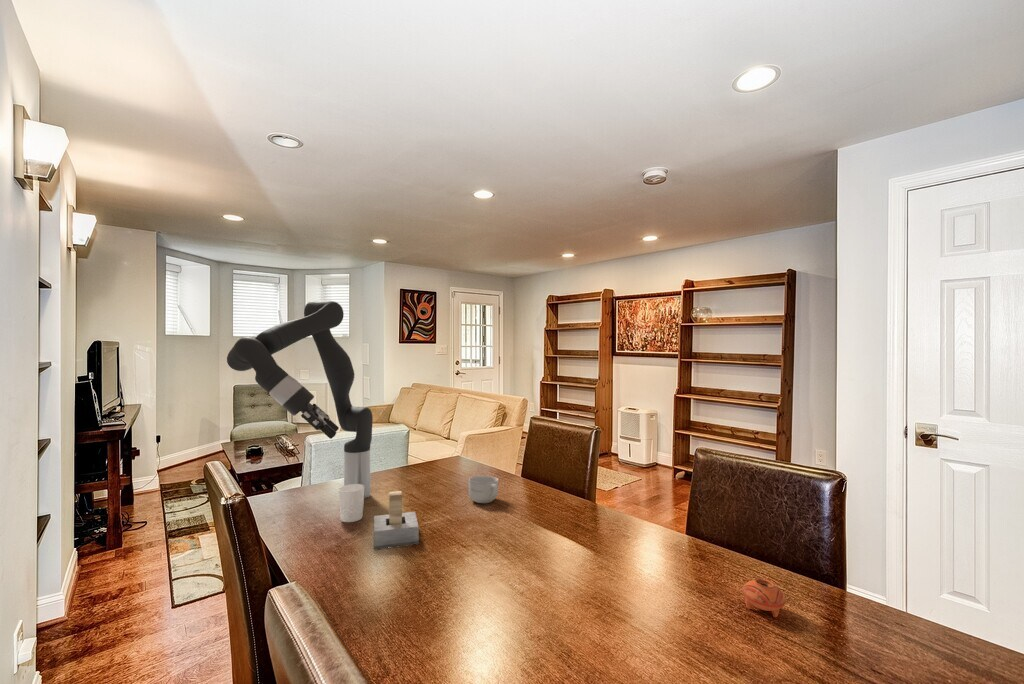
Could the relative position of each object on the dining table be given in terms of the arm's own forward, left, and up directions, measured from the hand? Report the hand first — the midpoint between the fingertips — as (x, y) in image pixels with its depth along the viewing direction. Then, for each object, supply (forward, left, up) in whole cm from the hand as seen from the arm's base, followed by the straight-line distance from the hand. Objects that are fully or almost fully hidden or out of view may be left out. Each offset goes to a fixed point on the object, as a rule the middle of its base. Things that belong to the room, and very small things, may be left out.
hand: (335, 433), depth 130 cm
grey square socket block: (+4, +17, -31) cm, 35 cm away
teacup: (-18, +49, -31) cm, 60 cm away
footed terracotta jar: (+64, +89, -31) cm, 114 cm away
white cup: (-16, +4, -31) cm, 35 cm away
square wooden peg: (+4, +17, -30) cm, 34 cm away
